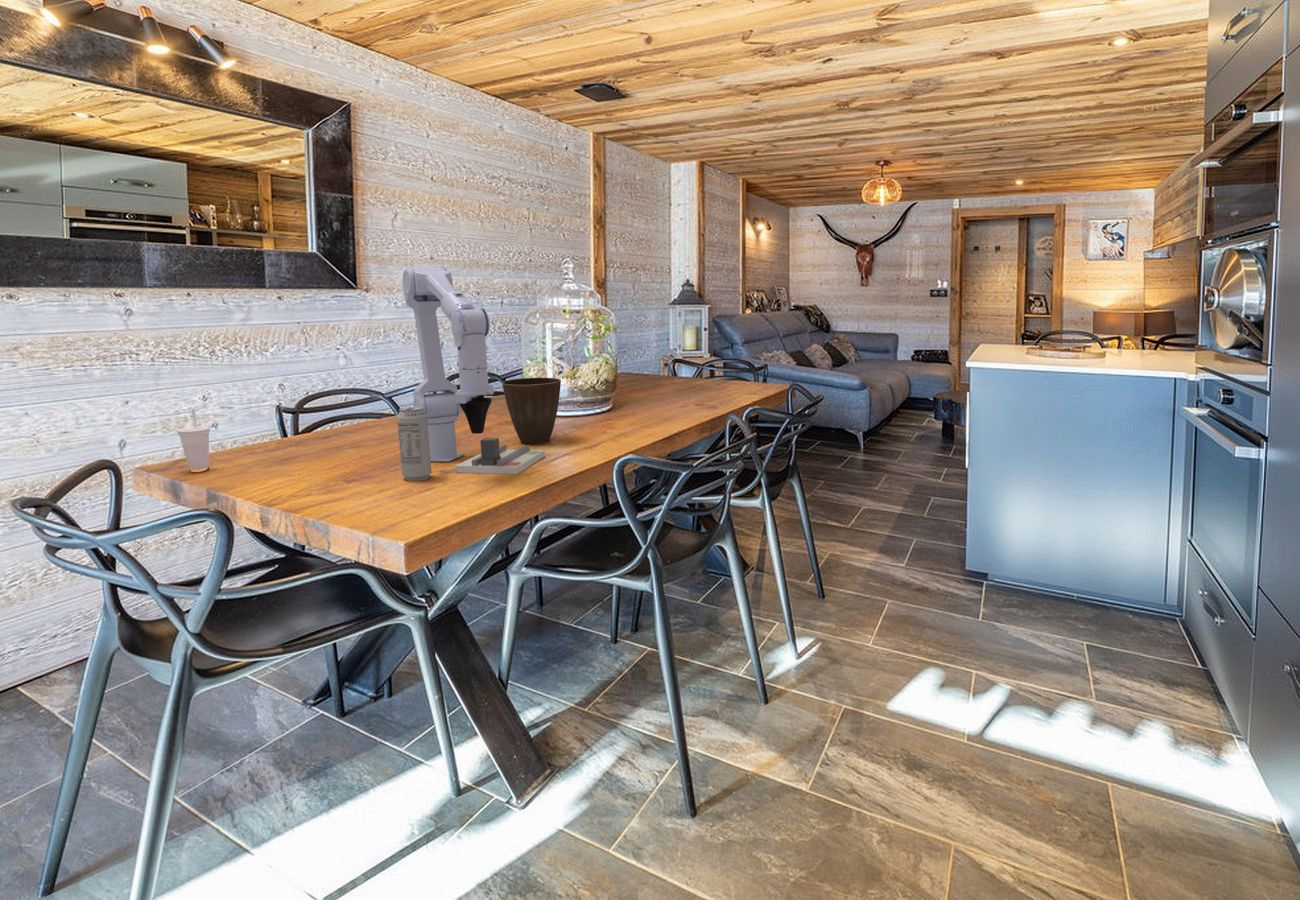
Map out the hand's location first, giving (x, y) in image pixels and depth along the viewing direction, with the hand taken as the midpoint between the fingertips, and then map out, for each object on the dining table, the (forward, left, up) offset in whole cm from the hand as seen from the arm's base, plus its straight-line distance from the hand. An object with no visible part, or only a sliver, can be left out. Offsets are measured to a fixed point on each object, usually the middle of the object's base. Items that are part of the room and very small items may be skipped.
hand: (477, 433), depth 160 cm
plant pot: (-2, +38, -10) cm, 39 cm away
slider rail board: (0, +12, -10) cm, 15 cm away
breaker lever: (0, +6, -8) cm, 10 cm away
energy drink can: (-13, -3, -10) cm, 17 cm away
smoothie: (-67, -3, -10) cm, 68 cm away
